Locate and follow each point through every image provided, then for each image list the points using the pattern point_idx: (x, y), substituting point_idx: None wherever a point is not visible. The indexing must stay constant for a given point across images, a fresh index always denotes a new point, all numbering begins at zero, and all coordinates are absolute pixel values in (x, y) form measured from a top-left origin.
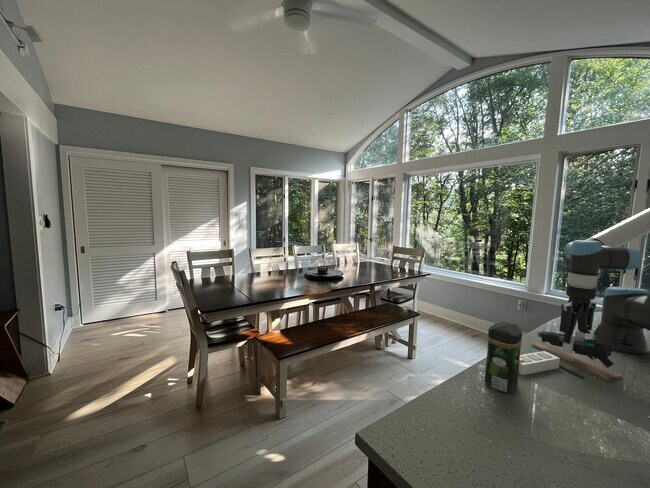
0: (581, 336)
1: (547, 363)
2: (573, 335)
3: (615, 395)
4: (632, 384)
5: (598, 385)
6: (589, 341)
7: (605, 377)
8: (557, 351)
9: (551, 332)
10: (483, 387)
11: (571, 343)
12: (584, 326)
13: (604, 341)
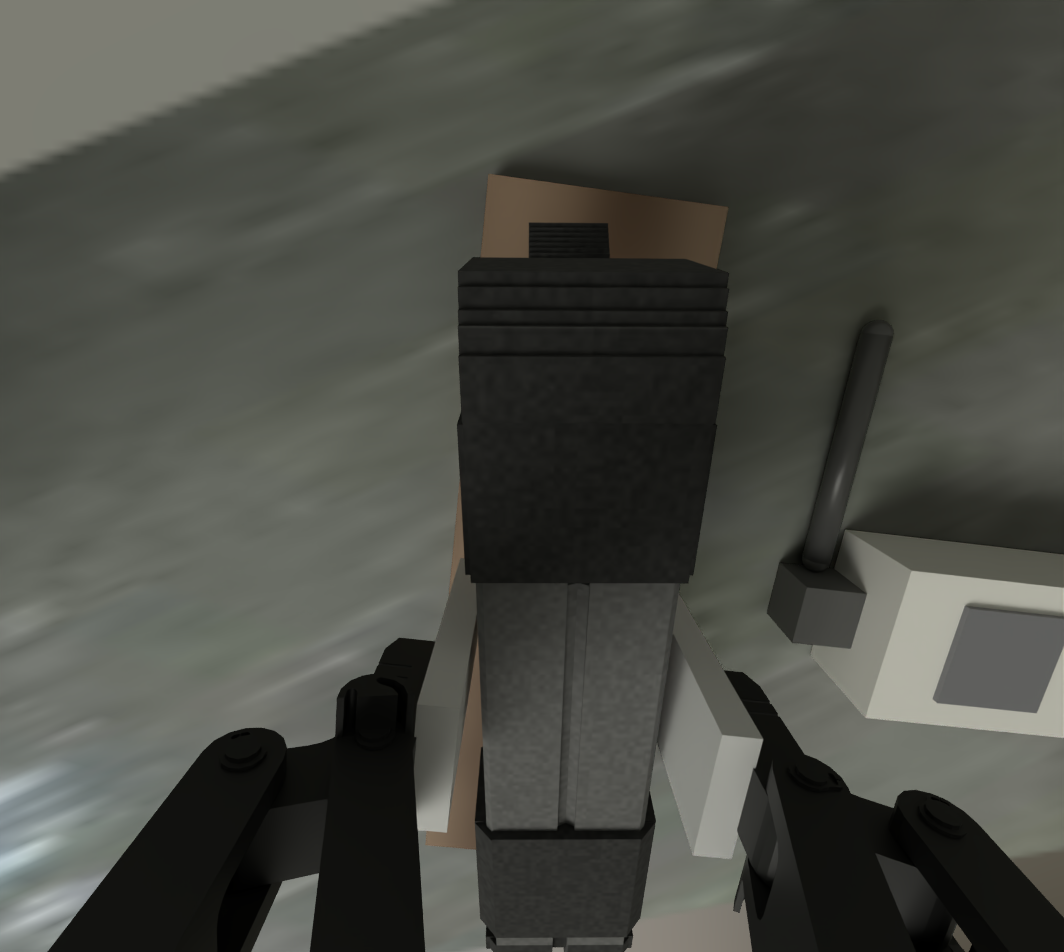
0: (464, 699)
1: (1055, 574)
2: (750, 740)
3: (958, 39)
4: (544, 66)
5: (883, 208)
6: (648, 531)
7: (709, 229)
8: None
9: (529, 927)
10: None
11: (711, 657)
12: (416, 854)
13: (469, 388)
